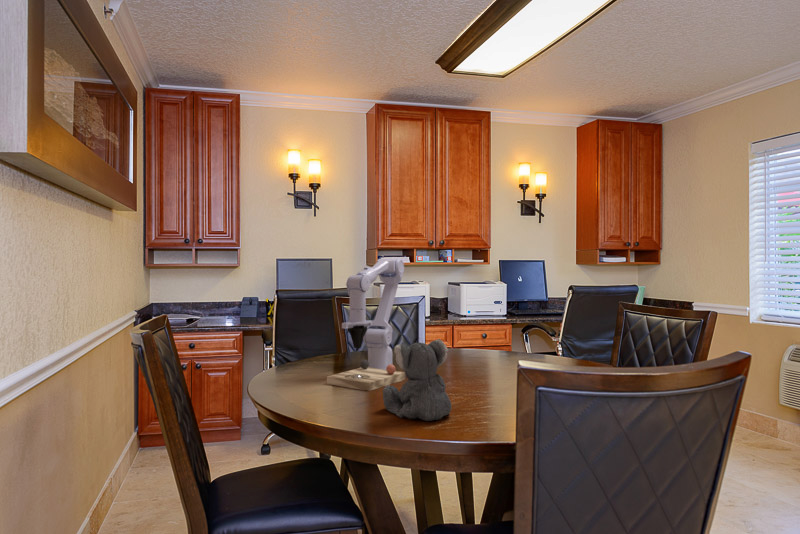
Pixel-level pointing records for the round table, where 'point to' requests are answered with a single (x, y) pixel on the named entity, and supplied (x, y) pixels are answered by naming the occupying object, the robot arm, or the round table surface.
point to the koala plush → (419, 383)
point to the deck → (365, 378)
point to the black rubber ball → (364, 364)
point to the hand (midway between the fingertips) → (357, 347)
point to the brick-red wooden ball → (390, 369)
